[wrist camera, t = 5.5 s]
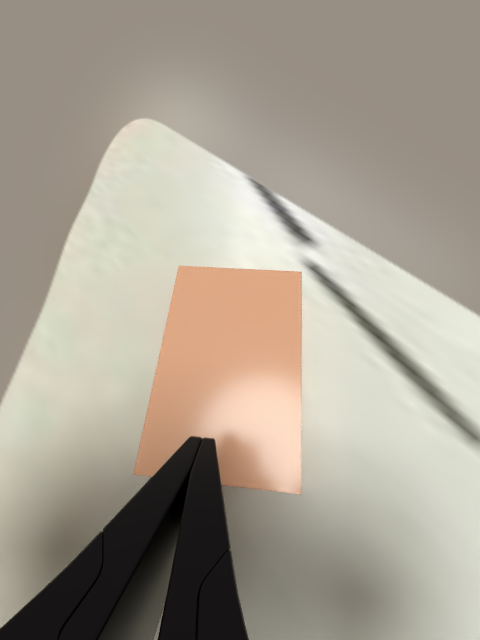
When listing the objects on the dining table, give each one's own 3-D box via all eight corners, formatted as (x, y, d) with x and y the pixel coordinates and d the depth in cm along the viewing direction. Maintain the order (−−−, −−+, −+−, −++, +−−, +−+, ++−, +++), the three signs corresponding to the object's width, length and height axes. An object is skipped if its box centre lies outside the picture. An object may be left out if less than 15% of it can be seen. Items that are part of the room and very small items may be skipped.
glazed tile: (301, 494, 12) (301, 271, 16) (133, 474, 12) (178, 265, 17) (293, 483, 14) (295, 291, 19) (152, 467, 15) (187, 285, 19)
